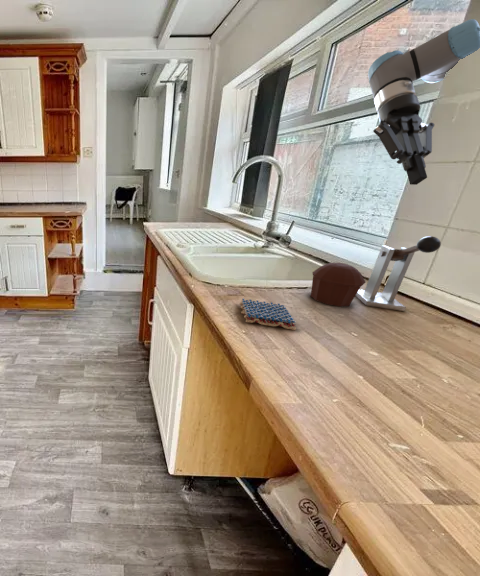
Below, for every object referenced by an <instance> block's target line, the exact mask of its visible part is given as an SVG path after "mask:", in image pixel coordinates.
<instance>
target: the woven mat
mask: <svg viewBox="0 0 480 576" xmlns="http://www.w3.org/2000/svg"><path fill="white" fill-rule="evenodd" d="M239 305H240V309H241V314H243V317H244V320H245V323H251V324H252V323H258V324H260V325H261V326H267V327H281V328H284V329H288V330H292V331H293V330H294V331H296V330H297V326H296V325H297V321H296V320H295V319H294V316H292V314H291V312H289V310H288V309H287V307H286V306H285V304H284V305H283V304H280V303H277V304H276V303H274V304H273V302H270V303H268V302H266V301H264V300H263V302H262V301H259V300H256V301H255V300H253V301H252V299H249V300H248V299H245V298H242V300H241V301H240V302H239Z"/></svg>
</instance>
